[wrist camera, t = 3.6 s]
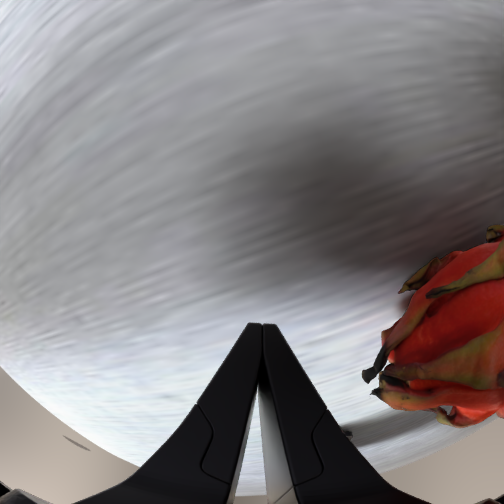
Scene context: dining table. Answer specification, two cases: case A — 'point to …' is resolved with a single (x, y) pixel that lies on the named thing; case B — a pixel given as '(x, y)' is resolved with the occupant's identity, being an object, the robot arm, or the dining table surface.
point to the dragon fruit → (449, 338)
